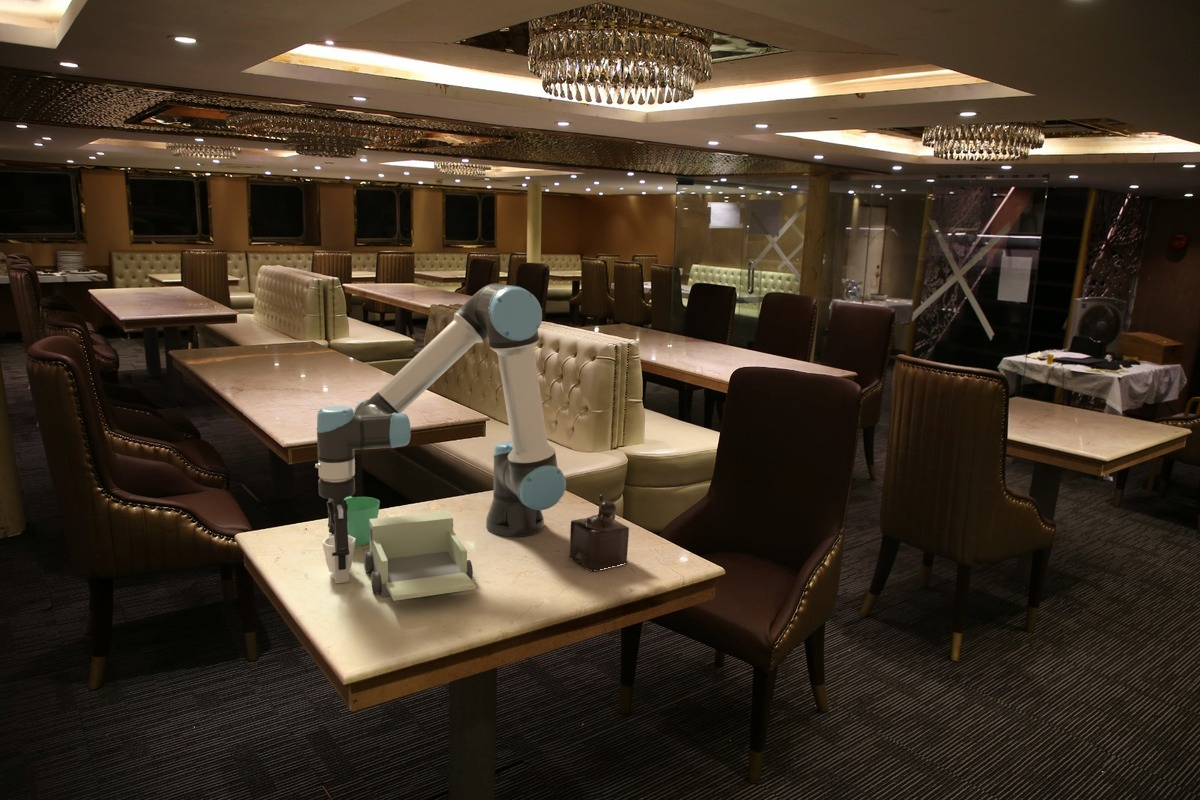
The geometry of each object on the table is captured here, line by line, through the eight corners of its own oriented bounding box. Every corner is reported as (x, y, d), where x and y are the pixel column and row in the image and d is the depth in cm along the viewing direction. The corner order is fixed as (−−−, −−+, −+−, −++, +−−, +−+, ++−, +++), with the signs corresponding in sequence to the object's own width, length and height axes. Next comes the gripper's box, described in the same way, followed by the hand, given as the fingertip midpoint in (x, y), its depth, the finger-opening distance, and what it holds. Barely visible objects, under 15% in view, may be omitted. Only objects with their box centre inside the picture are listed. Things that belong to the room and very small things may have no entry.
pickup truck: (454, 554, 188) (454, 510, 185) (473, 584, 172) (474, 537, 169) (363, 565, 179) (362, 519, 177) (375, 598, 163) (374, 548, 161)
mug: (386, 544, 192) (386, 505, 190) (347, 552, 186) (346, 512, 184) (364, 526, 203) (363, 489, 201) (326, 533, 197) (325, 495, 195)
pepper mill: (565, 557, 188) (568, 486, 185) (603, 549, 195) (606, 479, 191) (602, 581, 176) (605, 505, 172) (641, 572, 182) (645, 498, 178)
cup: (325, 583, 169) (324, 548, 167) (319, 565, 178) (318, 532, 176) (359, 578, 172) (358, 543, 171) (351, 561, 181) (350, 528, 179)
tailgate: (464, 572, 169) (475, 584, 161) (464, 578, 169) (475, 590, 161) (386, 582, 163) (393, 596, 154) (386, 588, 163) (393, 602, 155)
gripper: (314, 463, 180) (316, 553, 184) (323, 495, 159) (326, 595, 163) (348, 461, 183) (350, 549, 187) (361, 492, 162) (363, 590, 166)
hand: (338, 571), depth 175 cm, fingers open, 11 cm apart
